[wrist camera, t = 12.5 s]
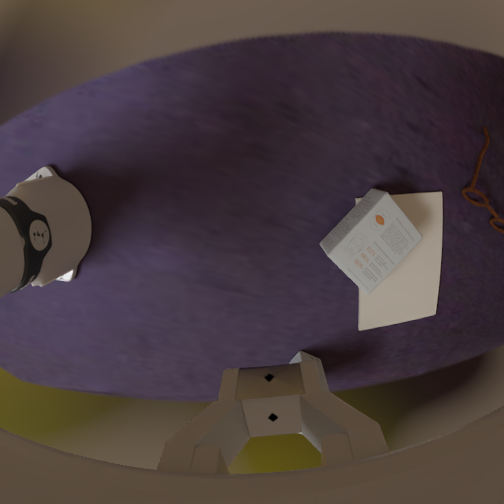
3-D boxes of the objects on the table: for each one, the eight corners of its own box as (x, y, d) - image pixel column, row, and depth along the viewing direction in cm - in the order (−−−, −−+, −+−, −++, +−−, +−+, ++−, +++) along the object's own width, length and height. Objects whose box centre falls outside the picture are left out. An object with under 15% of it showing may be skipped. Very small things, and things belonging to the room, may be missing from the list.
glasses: (455, 190, 38) (473, 194, 33) (482, 125, 34) (501, 124, 29) (496, 232, 39) (514, 239, 34) (521, 172, 36) (539, 175, 31)
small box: (355, 280, 41) (406, 228, 38) (367, 297, 35) (425, 237, 33) (317, 242, 39) (371, 186, 37) (326, 255, 34) (388, 190, 32)
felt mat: (358, 328, 44) (359, 330, 43) (355, 198, 38) (356, 198, 38) (433, 312, 43) (435, 314, 42) (440, 191, 37) (442, 191, 37)
